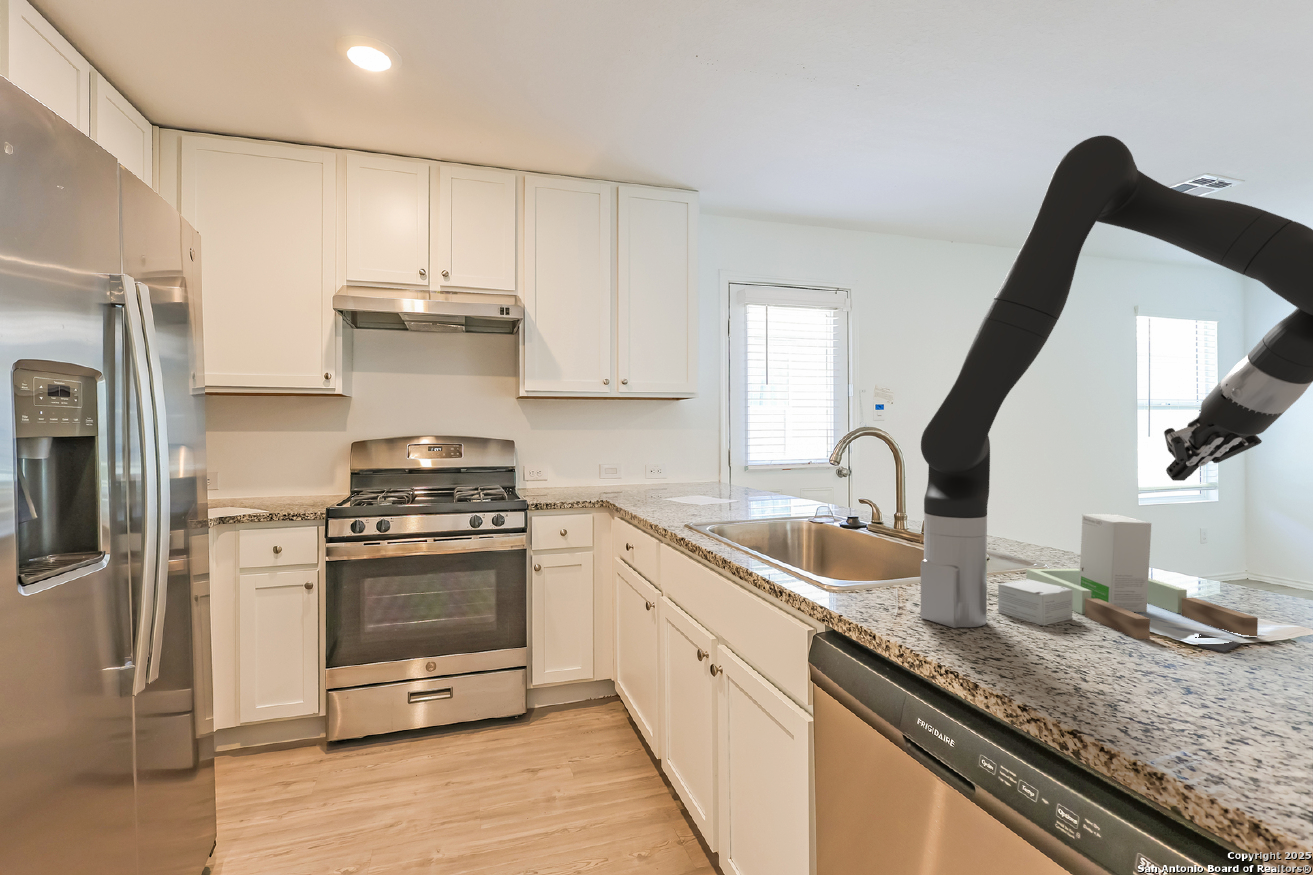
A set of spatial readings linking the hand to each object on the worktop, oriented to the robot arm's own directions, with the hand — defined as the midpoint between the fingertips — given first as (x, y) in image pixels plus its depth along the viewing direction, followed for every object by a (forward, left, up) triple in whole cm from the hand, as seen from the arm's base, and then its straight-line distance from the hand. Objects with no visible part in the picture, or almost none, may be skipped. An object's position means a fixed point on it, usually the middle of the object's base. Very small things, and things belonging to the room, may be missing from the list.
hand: (1174, 476), depth 93 cm
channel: (+1, +1, -24) cm, 24 cm away
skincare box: (+6, +10, -24) cm, 27 cm away
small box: (-11, +15, -24) cm, 30 cm away
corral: (+7, +12, -24) cm, 28 cm away
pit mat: (-3, -5, -24) cm, 24 cm away
